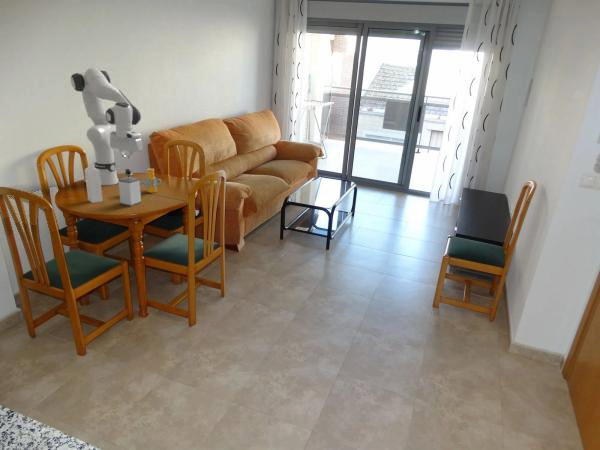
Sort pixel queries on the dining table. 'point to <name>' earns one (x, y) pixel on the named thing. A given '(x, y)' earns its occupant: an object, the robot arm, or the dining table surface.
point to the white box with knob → (130, 191)
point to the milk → (93, 184)
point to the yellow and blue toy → (151, 181)
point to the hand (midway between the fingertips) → (127, 157)
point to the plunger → (128, 173)
